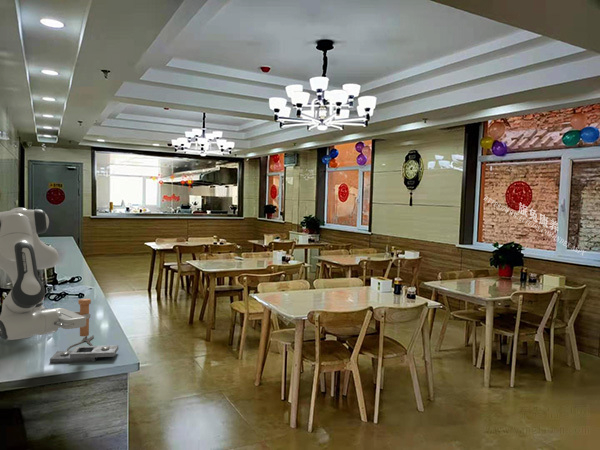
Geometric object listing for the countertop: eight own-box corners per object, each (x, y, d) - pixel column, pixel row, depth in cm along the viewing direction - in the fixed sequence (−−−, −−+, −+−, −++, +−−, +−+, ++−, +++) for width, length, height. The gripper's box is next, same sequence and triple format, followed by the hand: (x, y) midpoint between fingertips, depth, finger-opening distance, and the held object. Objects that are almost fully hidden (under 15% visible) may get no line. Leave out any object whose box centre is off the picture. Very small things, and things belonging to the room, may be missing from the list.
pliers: (66, 351, 182) (70, 336, 200) (66, 353, 182) (70, 338, 200) (92, 349, 186) (94, 334, 204) (92, 351, 186) (94, 336, 204)
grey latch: (57, 355, 179) (57, 345, 178) (118, 352, 183) (118, 343, 183) (49, 363, 170) (49, 353, 170) (114, 360, 175) (114, 350, 175)
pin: (78, 334, 177) (78, 299, 176) (90, 333, 179) (91, 298, 178) (77, 337, 173) (77, 301, 172) (90, 336, 175) (90, 300, 174)
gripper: (61, 318, 159) (99, 311, 170) (38, 307, 172) (75, 302, 182) (61, 335, 159) (99, 327, 170) (38, 324, 172) (75, 317, 183)
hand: (86, 314), depth 176 cm, fingers closed on pin, 3 cm apart
